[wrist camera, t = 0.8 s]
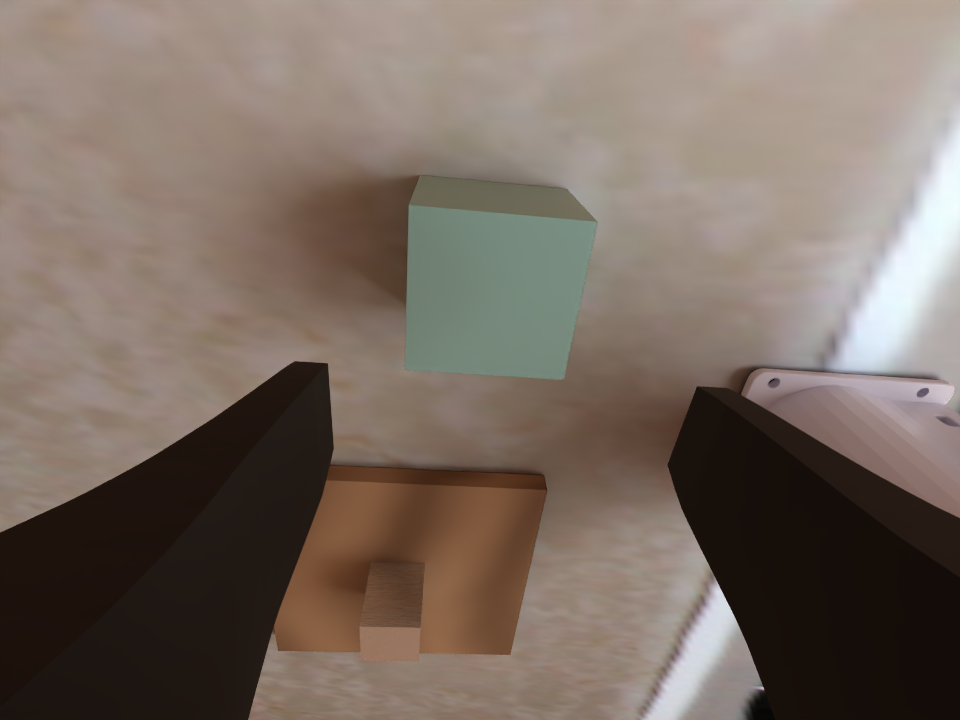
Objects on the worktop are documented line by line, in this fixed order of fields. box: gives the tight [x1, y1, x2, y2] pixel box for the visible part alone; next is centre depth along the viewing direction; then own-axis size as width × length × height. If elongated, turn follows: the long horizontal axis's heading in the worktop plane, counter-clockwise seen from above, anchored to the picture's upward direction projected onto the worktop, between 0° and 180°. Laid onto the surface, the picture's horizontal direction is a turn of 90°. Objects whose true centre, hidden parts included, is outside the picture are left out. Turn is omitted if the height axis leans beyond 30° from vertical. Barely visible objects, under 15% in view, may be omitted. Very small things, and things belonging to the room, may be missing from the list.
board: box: [274, 465, 547, 655], centre depth 27 cm, size 14×14×1 cm
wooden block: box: [359, 561, 425, 661], centre depth 25 cm, size 3×3×4 cm
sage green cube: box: [405, 175, 598, 380], centre depth 17 cm, size 5×5×4 cm
